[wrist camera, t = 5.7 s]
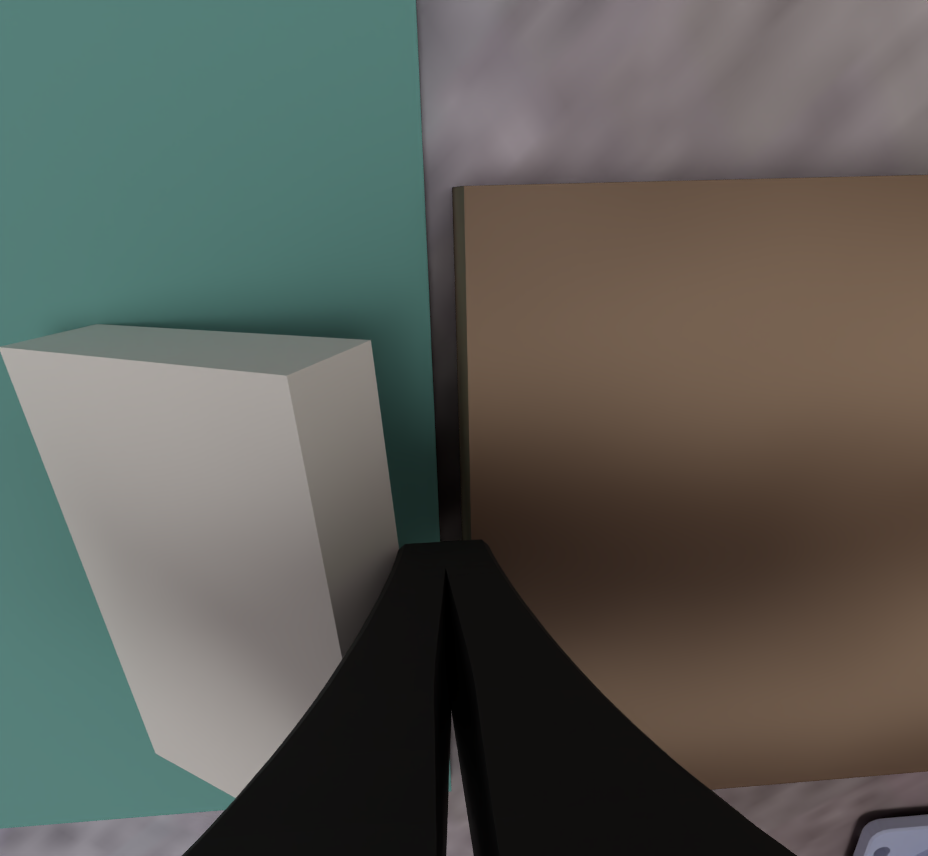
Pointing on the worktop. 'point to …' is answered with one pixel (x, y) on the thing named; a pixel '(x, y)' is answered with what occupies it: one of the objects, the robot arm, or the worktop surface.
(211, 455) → the cream tilted tile
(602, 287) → the brown flat slab
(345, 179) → the mat
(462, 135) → the worktop surface
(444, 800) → the robot arm
